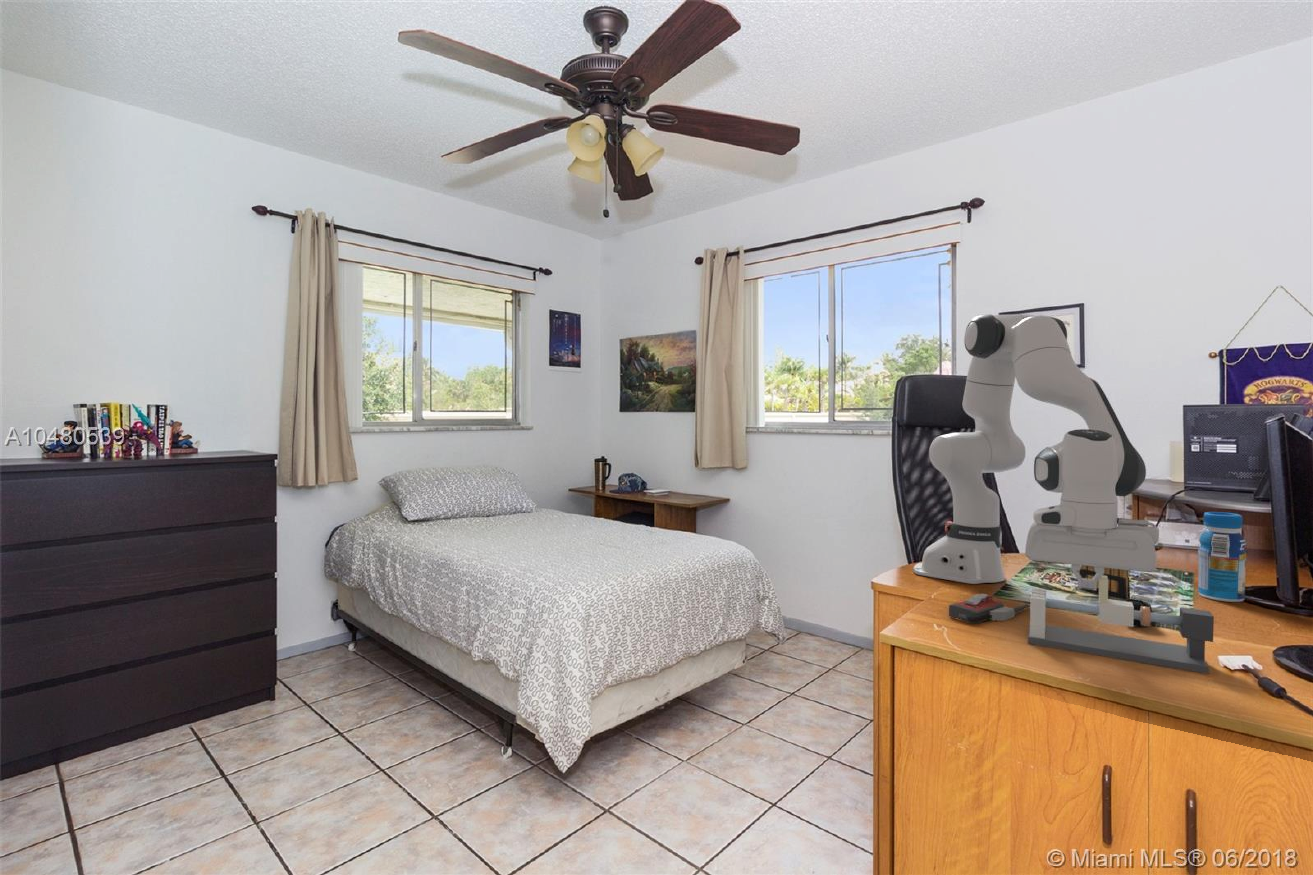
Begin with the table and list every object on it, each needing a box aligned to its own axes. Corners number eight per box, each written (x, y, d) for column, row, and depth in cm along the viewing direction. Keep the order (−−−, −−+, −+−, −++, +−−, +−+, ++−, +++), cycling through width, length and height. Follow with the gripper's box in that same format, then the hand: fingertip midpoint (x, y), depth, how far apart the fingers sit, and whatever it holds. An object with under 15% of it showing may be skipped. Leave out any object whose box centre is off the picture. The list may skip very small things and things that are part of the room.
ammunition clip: (1078, 588, 154) (1078, 541, 154) (1082, 587, 155) (1083, 540, 155) (1125, 599, 145) (1126, 549, 144) (1130, 598, 145) (1131, 548, 145)
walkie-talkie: (982, 630, 126) (1033, 613, 136) (982, 609, 126) (1033, 593, 136) (942, 618, 133) (994, 603, 144) (943, 598, 133) (994, 584, 144)
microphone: (1137, 619, 140) (1122, 630, 126) (1128, 593, 142) (1112, 601, 128) (1167, 617, 137) (1155, 627, 123) (1157, 590, 138) (1144, 598, 124)
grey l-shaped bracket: (1099, 622, 114) (1100, 579, 113) (1098, 616, 117) (1099, 575, 116) (1133, 627, 111) (1134, 583, 111) (1131, 621, 114) (1132, 578, 114)
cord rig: (1027, 643, 117) (1028, 596, 117) (1030, 628, 126) (1030, 584, 125) (1216, 675, 103) (1217, 622, 102) (1204, 655, 111) (1205, 606, 111)
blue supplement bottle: (1187, 592, 150) (1189, 511, 149) (1220, 592, 150) (1222, 510, 149) (1220, 603, 141) (1222, 517, 140) (1255, 602, 141) (1258, 516, 141)
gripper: (1156, 518, 112) (1155, 593, 113) (1026, 509, 124) (1025, 577, 124) (1161, 523, 107) (1160, 601, 108) (1025, 513, 118) (1024, 585, 119)
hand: (1087, 588), depth 116 cm, fingers closed
